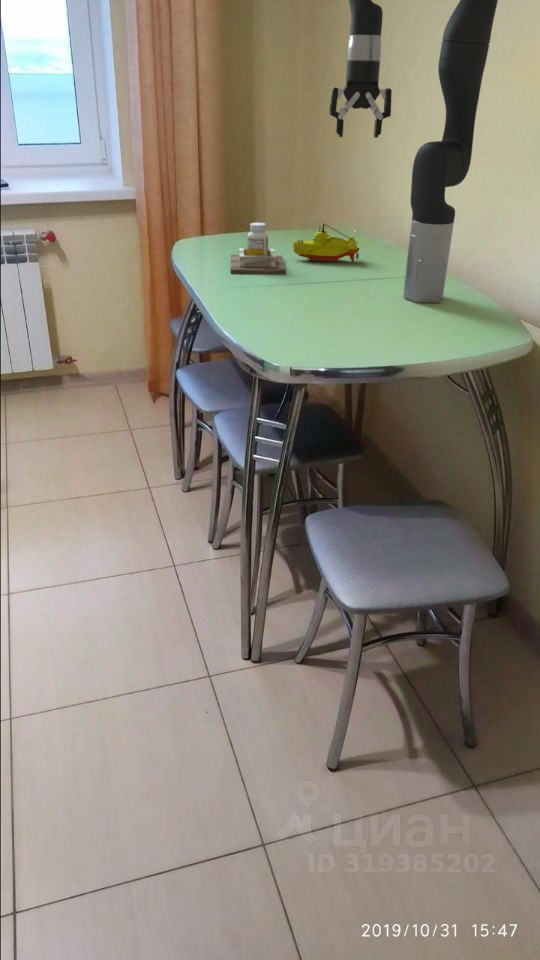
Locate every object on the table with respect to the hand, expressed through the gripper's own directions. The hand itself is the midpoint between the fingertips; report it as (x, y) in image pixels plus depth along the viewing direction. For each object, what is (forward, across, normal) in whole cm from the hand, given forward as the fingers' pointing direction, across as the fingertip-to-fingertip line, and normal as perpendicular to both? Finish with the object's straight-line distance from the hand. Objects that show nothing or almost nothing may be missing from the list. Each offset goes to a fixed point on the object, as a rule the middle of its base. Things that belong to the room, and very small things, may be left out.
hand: (358, 137), depth 172 cm
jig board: (+32, -24, +4) cm, 40 cm away
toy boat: (+32, -5, +11) cm, 34 cm away
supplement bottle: (+31, -24, +4) cm, 39 cm away
